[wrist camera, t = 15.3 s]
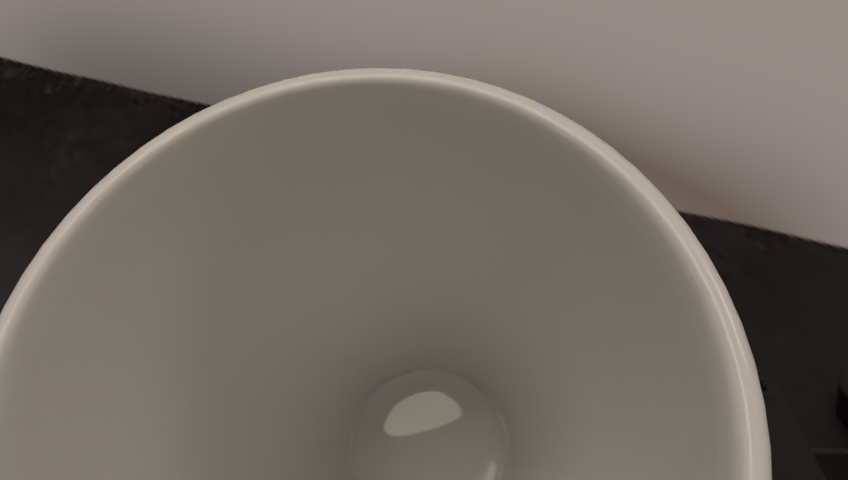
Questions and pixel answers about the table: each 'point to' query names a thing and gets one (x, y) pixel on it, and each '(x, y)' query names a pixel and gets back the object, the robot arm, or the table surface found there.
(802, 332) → the table surface
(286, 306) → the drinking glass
